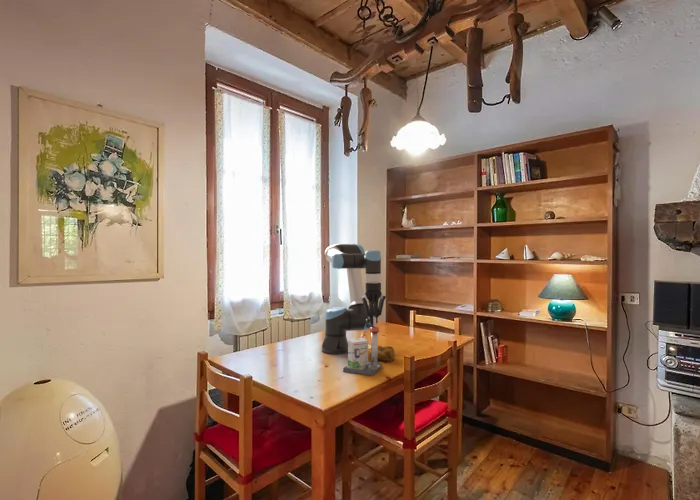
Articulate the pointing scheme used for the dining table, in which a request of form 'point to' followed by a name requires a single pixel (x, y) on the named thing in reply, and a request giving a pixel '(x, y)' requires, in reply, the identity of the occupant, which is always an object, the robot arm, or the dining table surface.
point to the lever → (371, 327)
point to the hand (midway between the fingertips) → (373, 330)
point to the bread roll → (385, 353)
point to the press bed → (372, 365)
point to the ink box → (357, 352)
